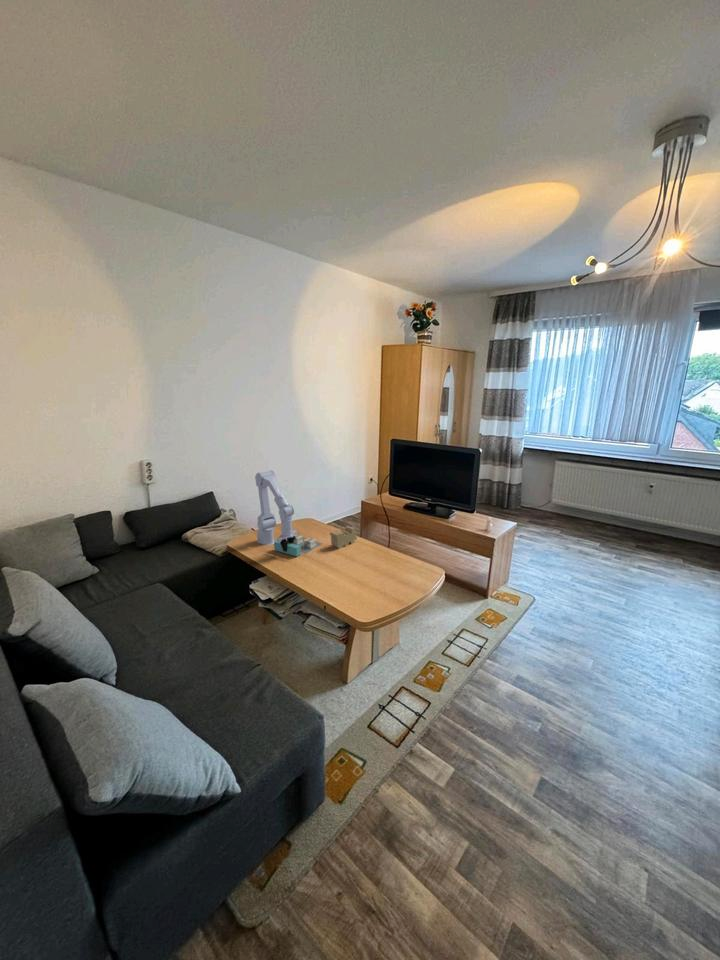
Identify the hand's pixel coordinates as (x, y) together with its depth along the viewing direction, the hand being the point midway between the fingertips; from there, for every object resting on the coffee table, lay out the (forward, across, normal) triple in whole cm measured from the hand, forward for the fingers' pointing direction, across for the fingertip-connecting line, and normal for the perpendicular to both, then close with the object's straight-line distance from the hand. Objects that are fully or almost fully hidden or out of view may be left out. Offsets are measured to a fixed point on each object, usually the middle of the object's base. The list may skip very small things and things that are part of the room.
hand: (287, 549), depth 214 cm
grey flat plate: (+3, +13, 0) cm, 13 cm away
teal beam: (+2, 0, 0) cm, 2 cm away
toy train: (+3, +27, -20) cm, 34 cm away
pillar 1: (+2, +14, +5) cm, 15 cm away
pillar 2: (+2, +14, -5) cm, 15 cm away
